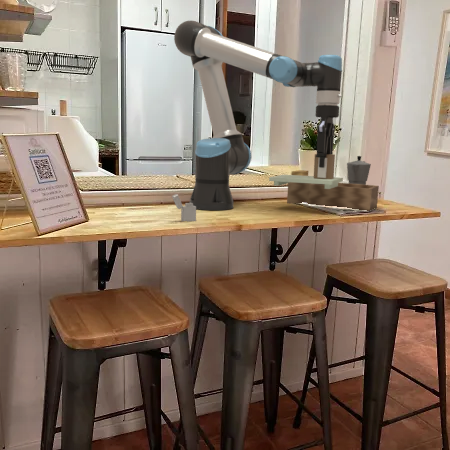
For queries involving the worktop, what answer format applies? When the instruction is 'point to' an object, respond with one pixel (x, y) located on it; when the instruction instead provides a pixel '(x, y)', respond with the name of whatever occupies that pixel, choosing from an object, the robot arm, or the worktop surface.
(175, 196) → the lighter
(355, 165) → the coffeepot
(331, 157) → the lid
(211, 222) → the worktop surface
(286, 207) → the worktop surface
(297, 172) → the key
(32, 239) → the worktop surface
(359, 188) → the brown wooden box
